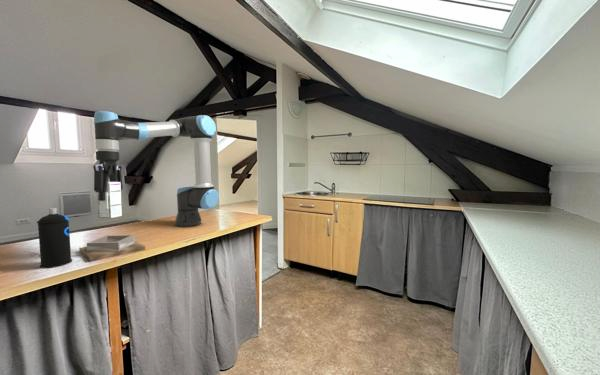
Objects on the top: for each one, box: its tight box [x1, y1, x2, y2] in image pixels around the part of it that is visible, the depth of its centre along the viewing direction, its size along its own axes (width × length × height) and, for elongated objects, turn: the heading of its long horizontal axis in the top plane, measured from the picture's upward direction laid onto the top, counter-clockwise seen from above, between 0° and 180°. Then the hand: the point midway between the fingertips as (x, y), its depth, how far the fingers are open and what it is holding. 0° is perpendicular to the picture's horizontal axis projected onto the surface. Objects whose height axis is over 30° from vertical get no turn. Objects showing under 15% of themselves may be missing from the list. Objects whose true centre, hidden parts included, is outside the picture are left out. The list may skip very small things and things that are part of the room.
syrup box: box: [96, 181, 123, 219], centre depth 101 cm, size 6×6×14 cm
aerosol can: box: [36, 207, 73, 269], centre depth 87 cm, size 8×8×20 cm
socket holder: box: [78, 234, 146, 263], centre depth 102 cm, size 18×18×5 cm
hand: (110, 207), depth 101 cm, fingers closed on syrup box, 6 cm apart
